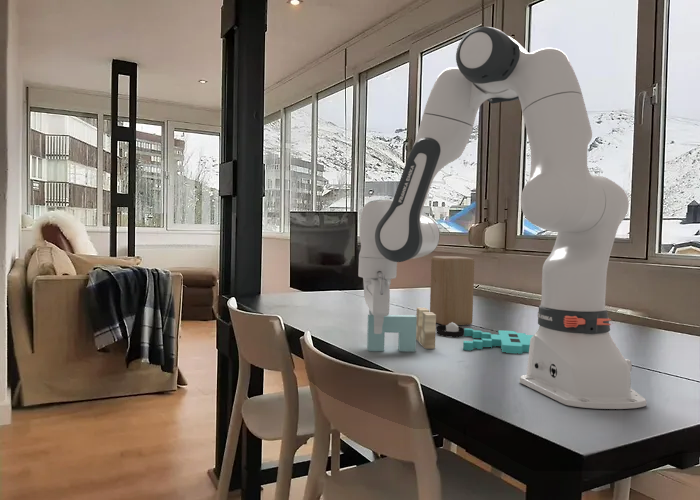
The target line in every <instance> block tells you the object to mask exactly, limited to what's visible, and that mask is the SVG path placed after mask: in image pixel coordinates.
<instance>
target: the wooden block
mask: <svg viewBox="0 0 700 500" xmlns="http://www.w3.org/2000/svg"><path fill="white" fill-rule="evenodd" d="M430 264H431V265H430V266H431V267H430V295H429V297H430V298H429V299H430V300H429V312H433V313H434V314H435V315H436V324H439V325H448V324H449V323H452V322H453V323H455V324H456V325H457V326H470V325H472V324H473V318H474V317H473V316H474V315H473V314H474V313H473V310H474V287H475V286H474V283H475V281H474V280H475V278H474V277H475V259H474V258H472V257H466V256H459V255H458V256H456V255H455V256H451V255H448V256H447V255H446V256H445V255H443V256H442V255H435V256H434V255H433V256H432V257H431V263H430Z"/></svg>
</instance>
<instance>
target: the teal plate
mask: <svg viewBox="0 0 700 500" xmlns="http://www.w3.org/2000/svg"><path fill="white" fill-rule="evenodd" d="M416 323H417V317H416V315H415V314H389V315H388V316H384V321H383V326H382V333H381V334H375V333H374V315H369V314H367V335H366V336H367V339H366V351H368V352H385V338H386V337H385V333H388V334H389V333H394V334H395V333H397V334H398V340H397V343H398V344H397V345H398V346H397V350H398V351H399V352H417V351H416V350H417V339H416Z"/></svg>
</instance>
